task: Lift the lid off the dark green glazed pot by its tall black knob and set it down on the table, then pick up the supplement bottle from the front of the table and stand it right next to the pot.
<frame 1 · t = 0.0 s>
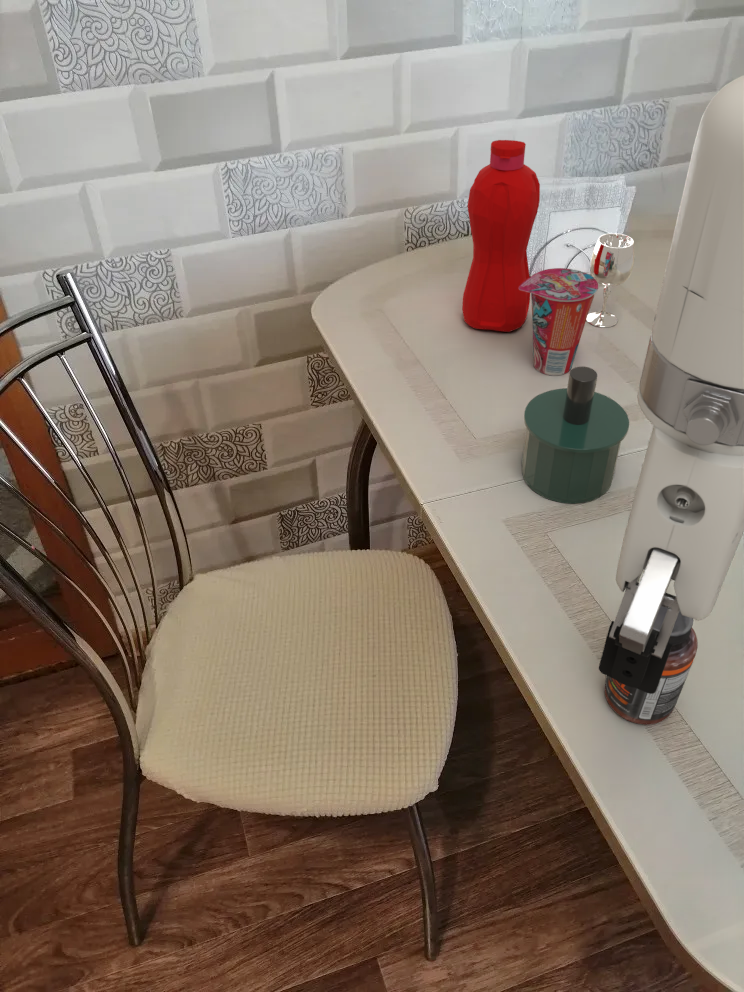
hand: (652, 620, 47), 22 cm above the table, tool pointing down, fingers open, 9 cm apart
water bottle: (495, 316, 118), on the table
cup: (549, 367, 107), on the table
pot: (566, 474, 90), on the table
lid: (575, 421, 85), point 7 cm above the table, touching pot
wineglass: (601, 320, 116), on the table
supplement bottle: (637, 698, 69), on the table
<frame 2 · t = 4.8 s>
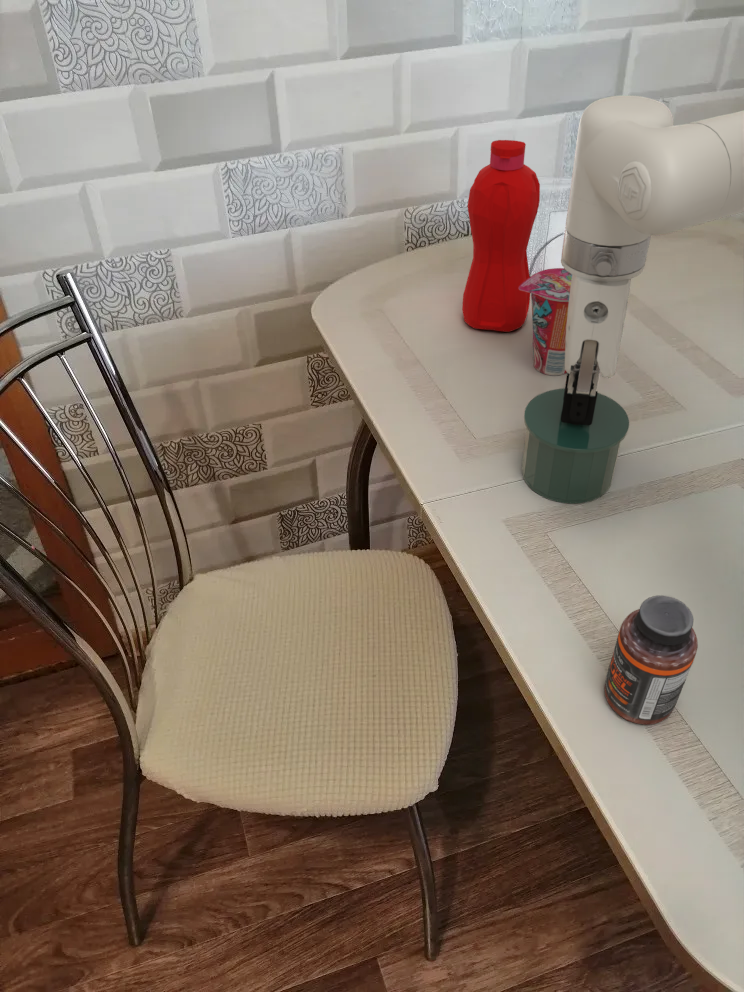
hand: (577, 411, 85), 9 cm above the table, tool pointing down, fingers closed on lid, 2 cm apart
lid: (575, 420, 85), point 8 cm above the table, touching gripper, pot
everything else where it was.
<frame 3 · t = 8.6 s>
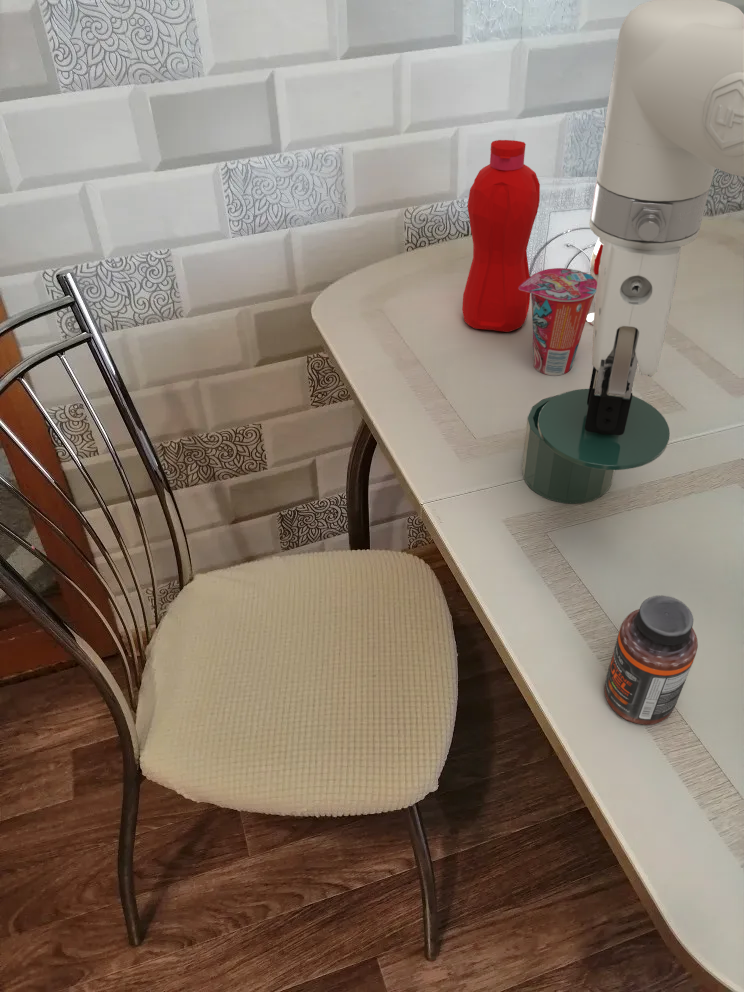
hand: (604, 417, 68), 18 cm above the table, tool pointing down, fingers closed on lid, 2 cm apart
lid: (602, 429, 69), point 17 cm above the table, touching gripper
everything else where it was.
when the fingers open (2 cm above the table, at t = 12.3 s): lid stays where it is, point 1 cm above the table.
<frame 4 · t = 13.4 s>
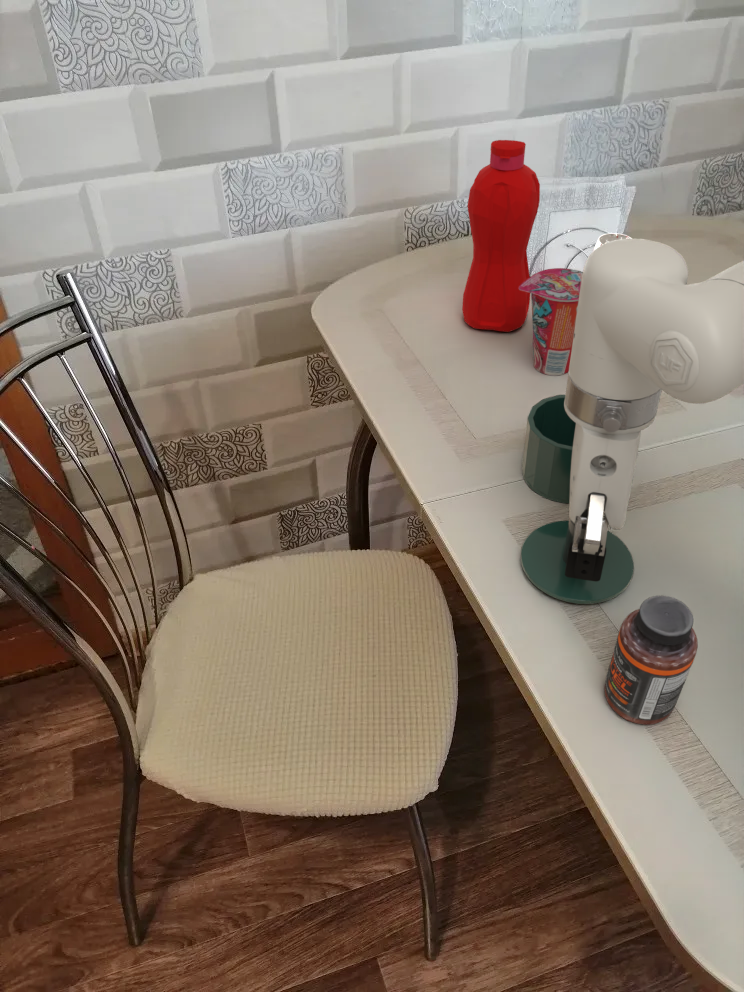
hand: (584, 540, 77), 4 cm above the table, tool pointing down, fingers open, 9 cm apart
lid: (576, 561, 80), point 1 cm above the table
everything else where it was.
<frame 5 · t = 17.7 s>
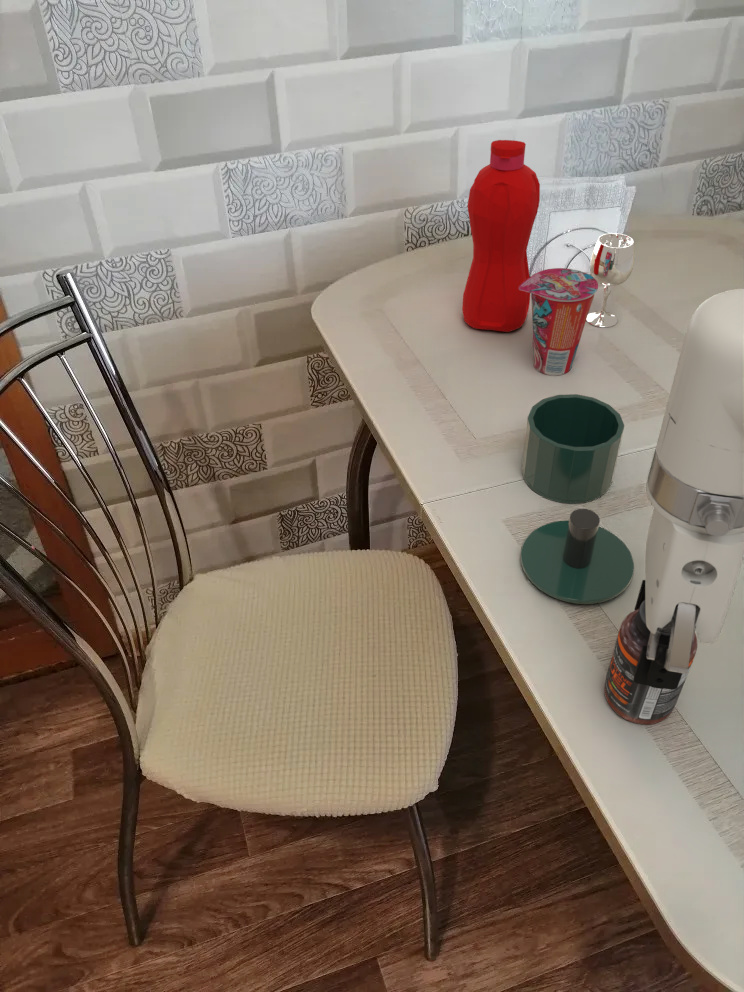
hand: (654, 647, 64), 7 cm above the table, tool pointing down, fingers closed on supplement bottle, 5 cm apart
supplement bottle: (637, 698, 69), on the table, touching gripper
everything else where it was.
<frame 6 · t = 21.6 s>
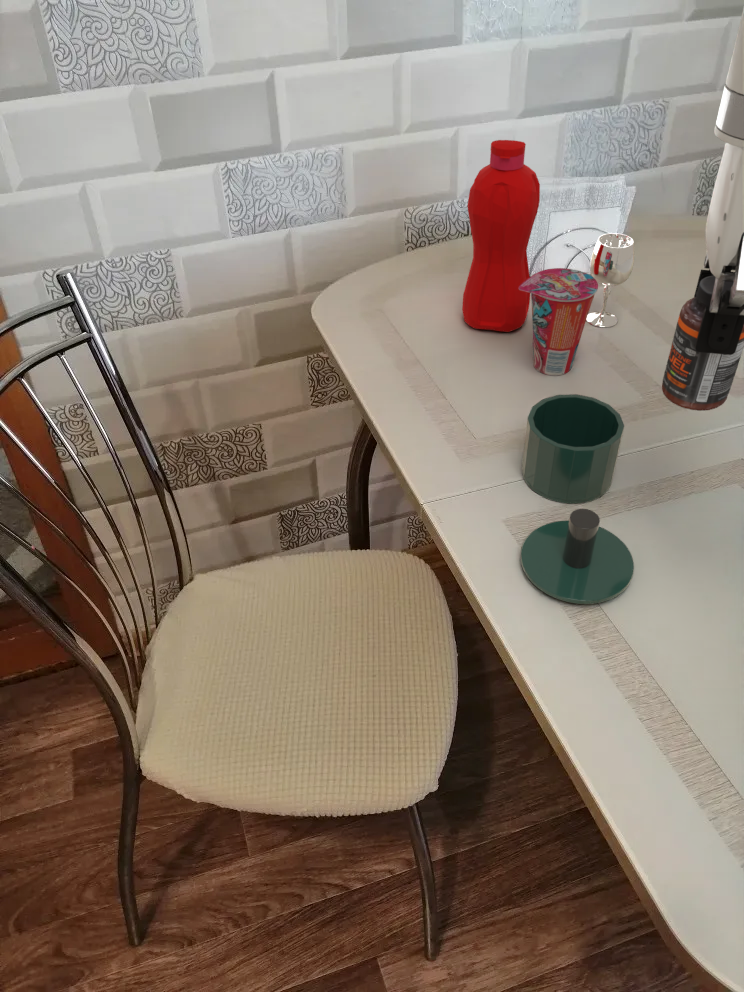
hand: (712, 329, 70), 22 cm above the table, tool pointing down, fingers closed on supplement bottle, 6 cm apart
supplement bottle: (692, 397, 75), point 15 cm above the table, touching gripper
everything else where it was.
when the fingers open (7 cm above the table, at t = 25.9 s): supplement bottle stays where it is, on the table.
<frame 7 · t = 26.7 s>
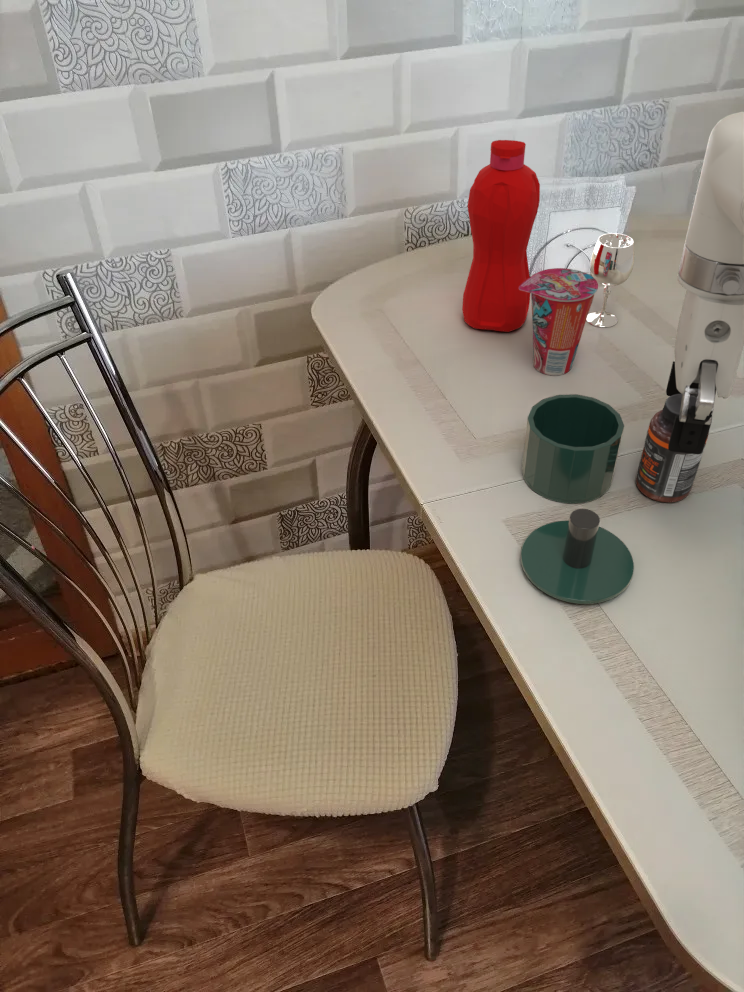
hand: (682, 422, 82), 9 cm above the table, tool pointing down, fingers open, 9 cm apart
supplement bottle: (661, 488, 88), on the table
everything else where it was.
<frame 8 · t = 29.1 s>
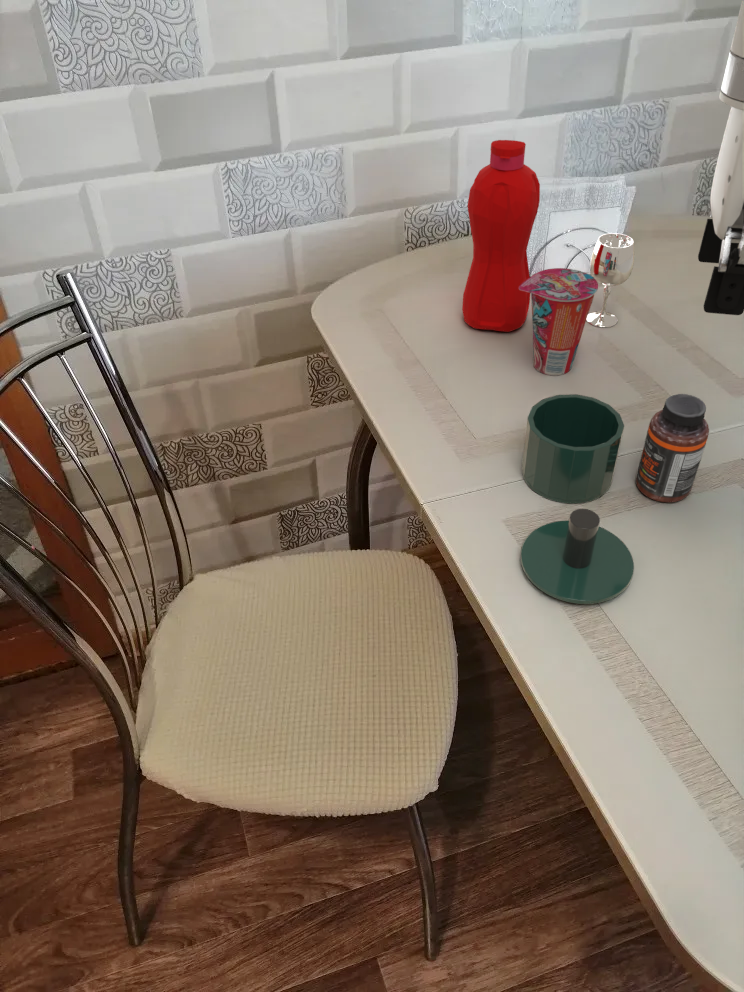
hand: (718, 285, 72), 24 cm above the table, tool pointing down, fingers open, 9 cm apart
nothing on the table moved.
at the end: lid inside the target area (0.1 cm from its centre), point 0.6 cm above the table; supplement bottle inside the target area on the table beside the pot (0.3 cm from its centre), on the table; supplement bottle tilted 0° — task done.
